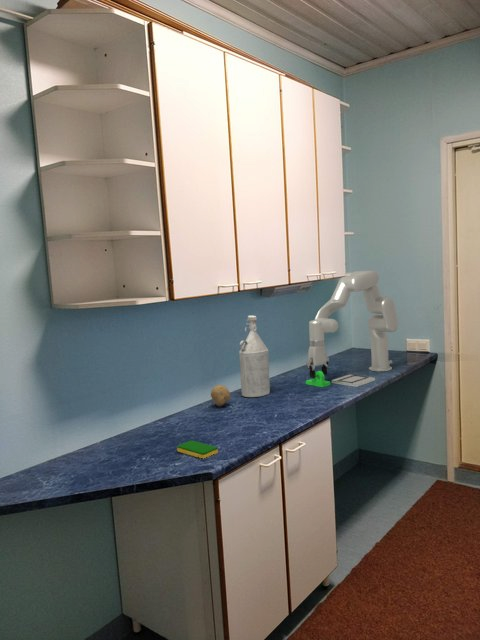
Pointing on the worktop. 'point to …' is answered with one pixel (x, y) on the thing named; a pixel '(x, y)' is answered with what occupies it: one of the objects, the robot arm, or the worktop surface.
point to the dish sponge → (197, 449)
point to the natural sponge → (220, 395)
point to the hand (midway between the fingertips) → (318, 375)
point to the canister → (254, 364)
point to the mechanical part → (318, 380)
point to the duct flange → (353, 380)
